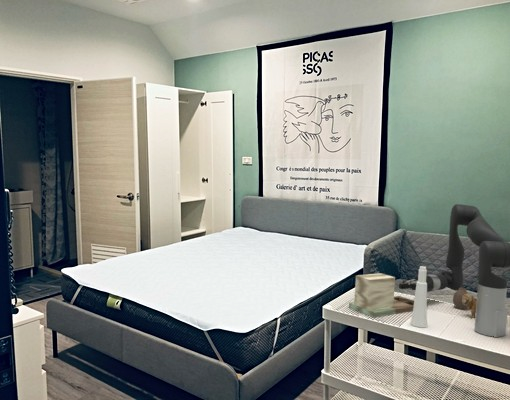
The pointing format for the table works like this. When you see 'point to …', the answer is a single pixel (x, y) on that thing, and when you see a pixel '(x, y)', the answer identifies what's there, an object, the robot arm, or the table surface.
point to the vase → (459, 298)
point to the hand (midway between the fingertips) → (400, 286)
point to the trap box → (387, 308)
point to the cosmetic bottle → (420, 300)
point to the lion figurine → (470, 303)
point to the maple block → (374, 291)
